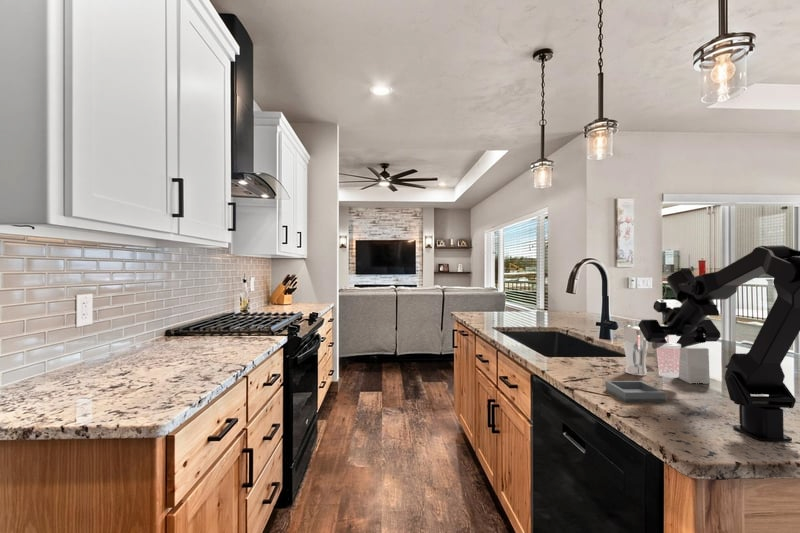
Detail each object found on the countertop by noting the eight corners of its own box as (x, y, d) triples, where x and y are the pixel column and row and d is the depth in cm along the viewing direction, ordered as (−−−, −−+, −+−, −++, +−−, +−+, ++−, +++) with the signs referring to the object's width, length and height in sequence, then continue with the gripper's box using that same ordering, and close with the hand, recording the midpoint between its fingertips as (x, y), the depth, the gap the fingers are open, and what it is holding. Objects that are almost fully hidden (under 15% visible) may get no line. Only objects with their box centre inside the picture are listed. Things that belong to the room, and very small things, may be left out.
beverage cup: (673, 372, 111) (672, 324, 111) (687, 378, 105) (685, 327, 105) (651, 372, 111) (650, 324, 111) (663, 378, 105) (662, 327, 105)
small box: (710, 384, 111) (709, 348, 111) (688, 383, 112) (687, 348, 112) (694, 377, 119) (694, 343, 119) (674, 376, 120) (674, 342, 120)
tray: (665, 402, 97) (665, 392, 97) (625, 402, 98) (625, 392, 98) (642, 389, 107) (641, 380, 107) (605, 389, 108) (605, 381, 108)
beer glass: (618, 372, 126) (617, 326, 126) (632, 369, 129) (631, 324, 129) (639, 377, 119) (638, 329, 119) (653, 374, 122) (652, 327, 122)
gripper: (711, 289, 104) (683, 324, 115) (641, 290, 105) (620, 325, 115) (736, 322, 96) (704, 356, 107) (660, 323, 97) (636, 357, 107)
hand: (664, 347), depth 109 cm, fingers closed on beverage cup, 6 cm apart
